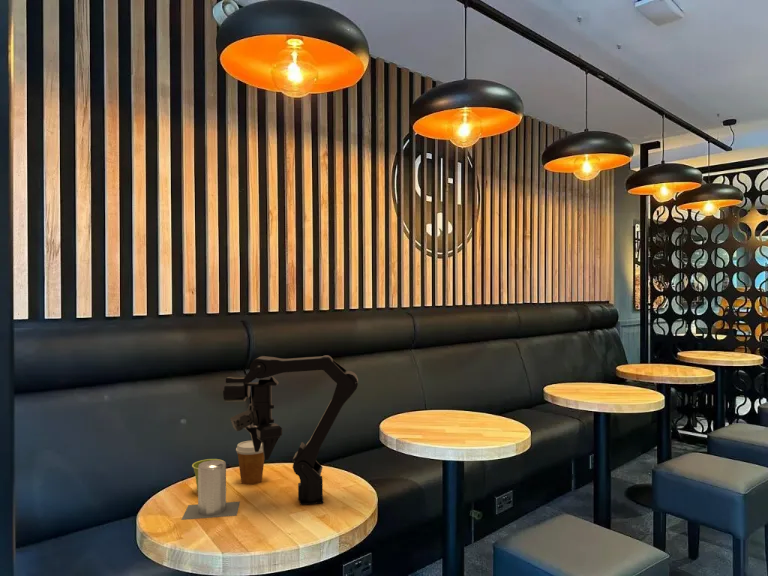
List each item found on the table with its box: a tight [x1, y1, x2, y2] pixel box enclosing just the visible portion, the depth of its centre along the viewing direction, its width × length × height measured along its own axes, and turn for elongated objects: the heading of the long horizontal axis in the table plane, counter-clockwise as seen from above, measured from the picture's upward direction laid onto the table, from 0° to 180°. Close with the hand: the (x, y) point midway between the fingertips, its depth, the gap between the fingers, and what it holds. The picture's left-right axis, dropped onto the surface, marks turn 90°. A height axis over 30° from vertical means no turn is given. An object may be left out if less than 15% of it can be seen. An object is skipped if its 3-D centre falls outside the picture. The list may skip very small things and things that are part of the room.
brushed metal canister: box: [197, 459, 227, 516], centre depth 145 cm, size 7×7×12 cm
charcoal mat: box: [180, 501, 241, 521], centre depth 145 cm, size 14×10×1 cm
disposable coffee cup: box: [235, 440, 265, 485], centre depth 169 cm, size 10×10×12 cm
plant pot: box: [191, 458, 224, 493], centre depth 160 cm, size 9×9×9 cm
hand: (261, 455), depth 153 cm, fingers open, 9 cm apart
